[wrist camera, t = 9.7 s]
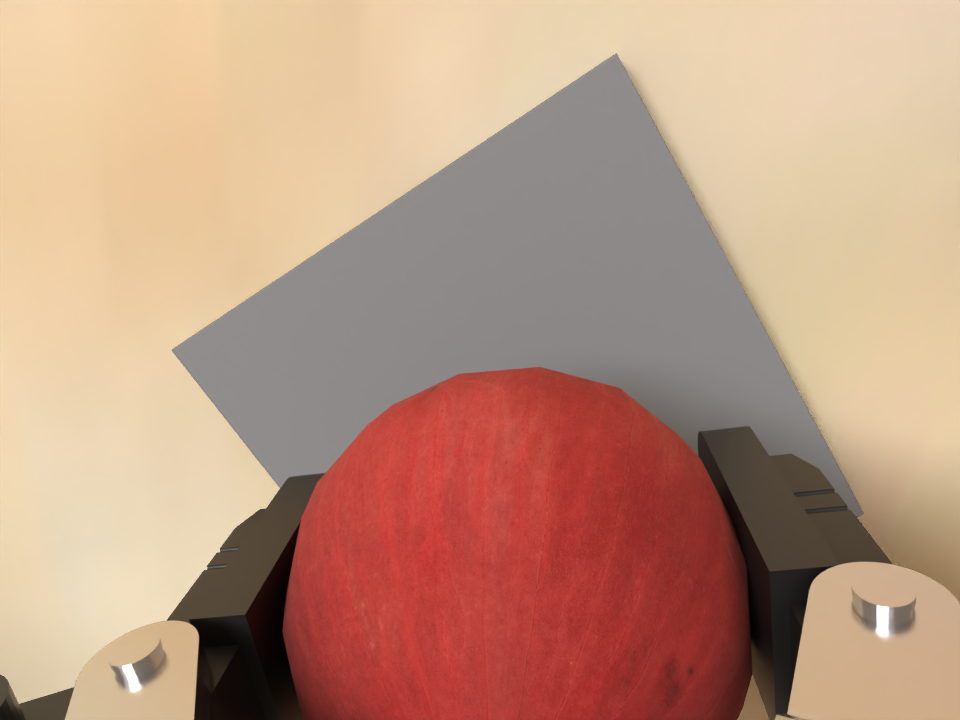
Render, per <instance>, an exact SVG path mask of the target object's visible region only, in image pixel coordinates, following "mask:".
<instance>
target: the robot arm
mask: <svg viewBox="0 0 960 720" xmlns="http://www.w3.org/2000/svg"><path fill="white" fill-rule="evenodd" d="M698 456H699V458H700V459H701V460H702V462H703V464H704V466H705V468H706V470H707V472H708V474H709V476H710V478H711V480H712V482H713V484H714V486H715V488H716V490H717V492H718V494H719V496H720V498H721V500H722V502H723V503H724V505H725V507H726V509H727V511H728V513H729V515H730V517H731V520H732V523H733V526H734V529H735V532H736V535H737V538H738V541H739V544H740V546H741V549H742V552H743V555H744V558H745V562H746V565H747V579H748V596H749V614H750V631H751V653H752V673H753V676H754V678H755V681H756V684H757V686H758V689H759V692H760V695H761V697H762V700H763V703H764V705H765V708H766V711H767V714H768V716H769V719H770V720H960V603H959V602H958V600H957V599H956V598H955V596H954V595H953V594H952V593H951V592H950V591H949V590H947V589H946V588H945V587H944V586H943V585H941V584H940V583H938V582H937V581H935V580H933V579H932V578H930V577H928V576H926V575H924V574H921V573H919V572H916V571H914V570H911V569H908V568H904V567H901V566H897V565H893V564H892V563H891V562H890V560H889V559H888V558H887V557H886V555H885V554H884V553H883V551H882V550H881V549H880V547H879V546H878V545H877V544H876V542H875V541H874V540H873V538H872V537H871V536H870V534H869V533H868V532H867V531H866V529H865V528H864V527H863V525H862V524H861V523H860V521H859V520H858V519H857V517H856V516H855V515H854V514H853V512H852V511H851V510H848V507H847V504H846V503H845V502H844V501H843V499H842V498H841V497H840V495H839V494H838V493H835V489H834V488H833V486H832V485H831V484H830V482H829V481H828V480H827V478H826V477H825V476H824V474H823V473H822V472H821V471H820V469H818V468H817V467H815V466H813V465H811V464H809V463H808V462H806V461H804V460H802V459H800V458H799V457H797V456H795V455H793V454H783V455H774V456H769V455H768V453H767V452H766V450H765V449H764V447H763V446H762V444H761V443H760V441H759V439H758V438H757V436H756V435H755V433H754V432H753V430H752V429H751V428H750V427H749V426H743V427H734V428H725V429H716V430H707V431H699V433H698ZM324 474H325V473H319V474H310V475H301V476H292V477H289V478H288V479H287V480H286V481H285V483H284V484H283V485H282V487H281V488H280V490H279V491H278V493H277V494H276V495H275V497H274V498H273V500H272V501H271V503H270V504H269V505H268V507H267V508H266V509H260V510H259V511H257V512H256V513H255V514H253V515H252V516H251V517H249V518H248V519H247V520H245V521H244V522H243V523H241V524H240V525H239V526H237V527H236V528H235V529H234V530H233V532H232V533H231V535H230V536H229V537H228V539H227V540H226V541H225V543H224V544H223V545H222V547H221V548H220V553H216V555H215V556H214V557H213V559H212V560H211V561H210V563H209V564H208V566H207V567H208V569H207V570H204V571H203V572H202V574H201V575H200V576H199V578H198V579H197V580H196V582H195V583H194V584H193V586H192V587H191V588H190V590H189V591H188V592H187V594H186V595H185V597H184V598H183V599H182V601H181V602H180V603H179V605H178V606H177V607H176V609H175V610H174V611H173V613H172V614H171V615H170V617H169V618H168V619H167V621H162V622H157V623H153V624H149V625H146V626H143V627H140V628H138V629H135V630H133V631H131V632H129V633H127V634H125V635H123V636H121V637H119V638H117V639H116V640H114V641H113V642H111V643H110V644H108V645H107V646H105V647H104V648H103V649H102V650H100V651H99V652H98V653H97V654H96V655H95V656H94V657H93V658H91V659H90V660H89V662H88V663H87V664H86V665H85V666H84V668H83V669H82V671H81V672H80V674H79V676H78V678H77V681H76V683H75V687H73V688H70V689H67V690H64V691H60V692H57V693H54V694H51V695H47V696H44V697H41V698H37V699H34V700H31V701H28V702H24V703H21V704H19V703H18V701H17V699H16V697H15V695H14V693H13V691H12V689H11V687H10V684H9V682H8V680H7V679H6V678H5V677H4V676H2V675H0V720H302V716H301V712H300V707H299V703H298V699H297V695H296V690H295V686H294V682H293V678H292V673H291V669H290V665H289V660H288V655H287V651H286V646H285V641H284V637H283V632H282V630H283V620H284V610H285V601H286V592H287V587H288V582H289V577H290V572H291V567H292V562H293V557H294V552H295V547H296V542H297V537H298V532H299V527H300V522H301V518H302V516H303V513H304V511H305V509H306V507H307V504H308V502H309V500H310V498H311V495H312V493H313V491H314V488H315V486H316V484H317V482H318V481H319V480H320V479H321V478H322V476H323V475H324Z"/></svg>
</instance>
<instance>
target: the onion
mask: <svg viewBox="0 0 960 720" xmlns="http://www.w3.org/2000/svg"><path fill="white" fill-rule="evenodd" d="M282 632H283V637H284V641H285V646H286V651H287V655H288V660H289V665H290V669H291V673H292V678H293V682H294V686H295V690H296V695H297V699H298V703H299V707H300V712H301V716H302V720H737V719H738V717H739V714H740V712H741V710H742V708H743V704H744V701H745V697H746V694H747V690H748V687H749V683H750V680H751V676H752V653H751V631H750V614H749V596H748V579H747V565H746V562H745V558H744V555H743V552H742V549H741V546H740V544H739V541H738V538H737V535H736V532H735V529H734V526H733V523H732V520H731V517H730V515H729V513H728V511H727V509H726V507H725V505H724V503H723V502H722V500H721V498H720V496H719V494H718V492H717V490H716V488H715V486H714V484H713V482H712V480H711V478H710V476H709V474H708V472H707V470H706V468H705V466H704V464H703V462H702V460H701V459H700V458H699V457H698V456H697V454H696V453H695V452H694V451H693V450H692V449H691V448H690V447H689V446H688V445H687V443H686V442H685V441H684V440H683V439H682V438H681V437H680V436H679V435H678V434H677V433H675V432H674V431H673V430H672V429H670V428H669V427H668V426H667V425H665V424H664V423H663V422H662V421H660V420H659V419H658V418H657V417H655V416H654V415H653V414H652V413H650V412H649V411H648V410H647V409H645V408H644V407H643V406H642V405H641V404H639V403H638V402H637V401H636V400H634V399H633V398H632V397H631V396H629V395H628V394H627V393H626V392H624V391H623V390H622V389H621V388H618V387H614V386H610V385H607V384H603V383H599V382H595V381H592V380H588V379H584V378H580V377H577V376H573V375H569V374H565V373H562V372H558V371H554V370H550V369H547V368H543V367H532V368H521V369H509V370H497V371H486V372H474V373H462V374H458V375H455V376H453V377H451V378H449V379H447V380H445V381H443V382H440V383H438V384H436V385H434V386H432V387H430V388H428V389H425V390H423V391H421V392H419V393H417V394H415V395H413V396H410V397H408V398H406V399H404V400H402V401H400V402H398V403H395V404H393V405H392V406H390V407H389V408H388V409H387V410H385V411H384V412H383V413H382V414H380V415H379V416H378V417H377V418H375V419H374V420H373V421H371V422H370V423H369V424H368V425H367V426H366V427H365V428H364V429H363V430H362V431H361V433H360V434H359V435H358V436H357V437H356V438H355V440H354V441H353V442H352V443H351V444H350V445H349V446H348V448H347V449H346V450H345V451H344V452H343V453H342V455H341V456H340V457H339V458H338V459H337V460H336V461H335V463H334V464H333V465H332V466H331V467H330V468H329V470H328V471H327V472H326V473H325V474H324V475H323V476H322V478H321V479H320V480H319V481H318V482H317V484H316V486H315V488H314V491H313V493H312V495H311V498H310V500H309V502H308V504H307V507H306V509H305V511H304V513H303V516H302V518H301V522H300V527H299V532H298V537H297V542H296V547H295V552H294V557H293V562H292V567H291V572H290V577H289V582H288V587H287V592H286V601H285V610H284V620H283V630H282Z"/></svg>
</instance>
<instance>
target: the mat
mask: <svg viewBox="0 0 960 720" xmlns="http://www.w3.org/2000/svg"><path fill="white" fill-rule="evenodd" d="M172 352H173V353H174V354H175V355H176V357H177V358H178V359H179V360H180V362H181V363H182V364H183V366H184V367H185V368H186V369H187V371H188V372H189V373H190V374H191V376H192V377H193V378H194V380H195V381H196V382H197V383H198V385H199V386H200V387H201V388H202V390H203V391H204V392H205V393H206V395H207V396H208V397H209V399H210V400H211V401H212V402H213V404H214V405H215V406H216V407H217V409H218V410H219V411H220V413H221V414H222V415H223V416H224V418H225V419H226V420H227V421H228V423H229V424H230V425H231V427H232V428H233V429H234V430H235V432H236V433H237V434H238V435H239V437H240V438H241V439H242V440H243V442H244V443H245V444H246V446H247V447H248V448H249V449H250V451H251V452H252V453H253V454H254V456H255V457H256V458H257V460H258V461H259V462H260V463H261V465H262V466H263V467H264V468H265V470H266V471H267V472H268V474H269V475H270V476H271V477H272V479H273V480H274V481H275V482H276V484H277V485H278V486H279V487H280V488H281V487H282V485H283V484H284V483H285V481H286V480H287V479H288V478H289V477H292V476H301V475H310V474H319V473H326V472H327V471H328V470H329V468H330V467H331V466H332V465H333V464H334V463H335V461H336V460H337V459H338V458H339V457H340V456H341V455H342V453H343V452H344V451H345V450H346V449H347V448H348V446H349V445H350V444H351V443H352V442H353V441H354V440H355V438H356V437H357V436H358V435H359V434H360V433H361V431H362V430H363V429H364V428H365V427H366V426H367V425H368V424H369V423H370V422H371V421H373V420H374V419H375V418H377V417H378V416H379V415H380V414H382V413H383V412H384V411H385V410H387V409H388V408H389V407H390V406H392V405H393V404H395V403H398V402H400V401H402V400H404V399H406V398H408V397H410V396H413V395H415V394H417V393H419V392H421V391H423V390H425V389H428V388H430V387H432V386H434V385H436V384H438V383H440V382H443V381H445V380H447V379H449V378H451V377H453V376H455V375H458V374H462V373H474V372H486V371H497V370H509V369H521V368H532V367H543V368H547V369H550V370H554V371H558V372H562V373H565V374H569V375H573V376H577V377H580V378H584V379H588V380H592V381H595V382H599V383H603V384H607V385H610V386H614V387H618V388H621V389H622V390H623V391H624V392H626V393H627V394H628V395H629V396H631V397H632V398H633V399H634V400H636V401H637V402H638V403H639V404H641V405H642V406H643V407H644V408H645V409H647V410H648V411H649V412H650V413H652V414H653V415H654V416H655V417H657V418H658V419H659V420H660V421H662V422H663V423H664V424H665V425H667V426H668V427H669V428H670V429H672V430H673V431H674V432H675V433H677V434H678V435H679V436H680V437H681V438H682V439H683V440H684V441H685V442H686V443H687V445H688V446H689V447H690V448H691V449H692V450H693V451H694V452H695V453H696V454H697V456H698V433H699V431H707V430H716V429H725V428H734V427H743V426H749V427H750V428H751V429H752V430H753V432H754V433H755V435H756V436H757V438H758V439H759V441H760V443H761V444H762V446H763V447H764V449H765V450H766V452H767V453H768V455H769V456H774V455H783V454H793V455H795V456H797V457H799V458H800V459H802V460H804V461H806V462H808V463H809V464H811V465H813V466H815V467H817V468H818V469H820V471H821V472H822V473H823V474H824V476H825V477H826V478H827V480H828V481H829V482H830V484H831V485H832V486H833V488H834V489H835V493H838V494H839V495H840V497H841V498H842V499H843V501H844V502H845V503H846V504H847V507H848V510H851V511H852V512H853V514H854V515H855V516H856V517H858V516H860V515H863V514H864V513H863V511H862V509H861V507H860V505H859V504H858V502H857V500H856V498H855V496H854V494H853V492H852V491H851V489H850V487H849V485H848V483H847V481H846V479H845V478H844V476H843V474H842V472H841V470H840V468H839V466H838V465H837V463H836V461H835V459H834V457H833V455H832V453H831V452H830V450H829V448H828V446H827V444H826V442H825V440H824V438H823V437H822V435H821V433H820V431H819V429H818V427H817V425H816V424H815V422H814V420H813V418H812V416H811V414H810V412H809V411H808V409H807V407H806V405H805V403H804V401H803V399H802V398H801V396H800V394H799V392H798V390H797V388H796V386H795V385H794V383H793V381H792V379H791V377H790V375H789V373H788V372H787V370H786V368H785V366H784V364H783V362H782V360H781V358H780V357H779V355H778V353H777V351H776V349H775V347H774V345H773V344H772V342H771V340H770V338H769V336H768V334H767V332H766V331H765V329H764V327H763V325H762V323H761V321H760V319H759V318H758V316H757V314H756V312H755V310H754V308H753V306H752V305H751V303H750V301H749V299H748V297H747V295H746V293H745V291H744V290H743V288H742V286H741V284H740V282H739V280H738V278H737V277H736V275H735V273H734V271H733V269H732V267H731V265H730V264H729V262H728V260H727V258H726V256H725V254H724V252H723V251H722V249H721V247H720V245H719V243H718V241H717V239H716V238H715V236H714V234H713V232H712V230H711V228H710V226H709V224H708V223H707V221H706V219H705V217H704V215H703V213H702V211H701V210H700V208H699V206H698V204H697V202H696V200H695V198H694V197H693V195H692V193H691V191H690V189H689V187H688V185H687V184H686V182H685V180H684V178H683V176H682V174H681V172H680V171H679V169H678V167H677V165H676V163H675V161H674V159H673V157H672V156H671V154H670V152H669V150H668V148H667V146H666V144H665V143H664V141H663V139H662V137H661V135H660V133H659V131H658V130H657V128H656V126H655V124H654V122H653V120H652V118H651V117H650V115H649V113H648V111H647V109H646V107H645V105H644V104H643V102H642V100H641V98H640V96H639V94H638V92H637V90H636V89H635V87H634V85H633V83H632V81H631V79H630V77H629V76H628V74H627V72H626V70H625V68H624V66H623V64H622V63H621V61H620V59H619V57H618V55H617V53H616V54H615V55H613V56H612V57H610V58H609V59H607V60H606V61H604V62H603V63H601V64H600V65H598V66H597V67H595V68H594V69H592V70H591V71H589V72H588V73H586V74H585V75H583V76H582V77H580V78H579V79H577V80H576V81H574V82H573V83H571V84H570V85H568V86H567V87H565V88H564V89H562V90H561V91H559V92H558V93H556V94H555V95H553V96H552V97H550V98H549V99H547V100H546V101H544V102H543V103H541V104H540V105H538V106H537V107H535V108H534V109H532V110H531V111H529V112H528V113H526V114H525V115H523V116H522V117H520V118H519V119H517V120H516V121H514V122H513V123H511V124H510V125H508V126H507V127H505V128H504V129H502V130H501V131H499V132H498V133H496V134H495V135H493V136H492V137H490V138H489V139H487V140H486V141H484V142H483V143H481V144H480V145H478V146H477V147H475V148H474V149H472V150H471V151H469V152H468V153H466V154H465V155H463V156H462V157H460V158H459V159H457V160H456V161H454V162H453V163H451V164H450V165H448V166H447V167H445V168H444V169H442V170H441V171H439V172H438V173H436V174H435V175H433V176H432V177H430V178H429V179H427V180H426V181H424V182H423V183H421V184H420V185H418V186H417V187H415V188H414V189H412V190H411V191H409V192H408V193H406V194H405V195H403V196H402V197H400V198H399V199H397V200H396V201H394V202H393V203H391V204H390V205H388V206H387V207H385V208H384V209H382V210H381V211H379V212H378V213H376V214H375V215H373V216H372V217H370V218H369V219H367V220H366V221H364V222H363V223H361V224H360V225H358V226H357V227H355V228H354V229H352V230H351V231H349V232H348V233H346V234H345V235H343V236H342V237H340V238H339V239H337V240H336V241H334V242H333V243H331V244H330V245H328V246H327V247H325V248H324V249H322V250H321V251H319V252H318V253H316V254H315V255H313V256H312V257H310V258H309V259H307V260H306V261H304V262H303V263H301V264H300V265H298V266H297V267H295V268H294V269H292V270H291V271H289V272H288V273H286V274H285V275H283V276H282V277H280V278H279V279H277V280H276V281H274V282H273V283H271V284H270V285H268V286H267V287H265V288H264V289H262V290H261V291H259V292H258V293H256V294H255V295H253V296H252V297H250V298H249V299H247V300H246V301H244V302H243V303H241V304H240V305H238V306H237V307H235V308H234V309H232V310H231V311H229V312H228V313H226V314H225V315H223V316H222V317H220V318H219V319H217V320H216V321H214V322H213V323H211V324H210V325H208V326H207V327H205V328H204V329H202V330H201V331H199V332H198V333H196V334H195V335H193V336H192V337H190V338H189V339H187V340H186V341H184V342H183V343H181V344H180V345H178V346H177V347H175V348H174V349H172ZM698 457H699V456H698Z"/></svg>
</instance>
